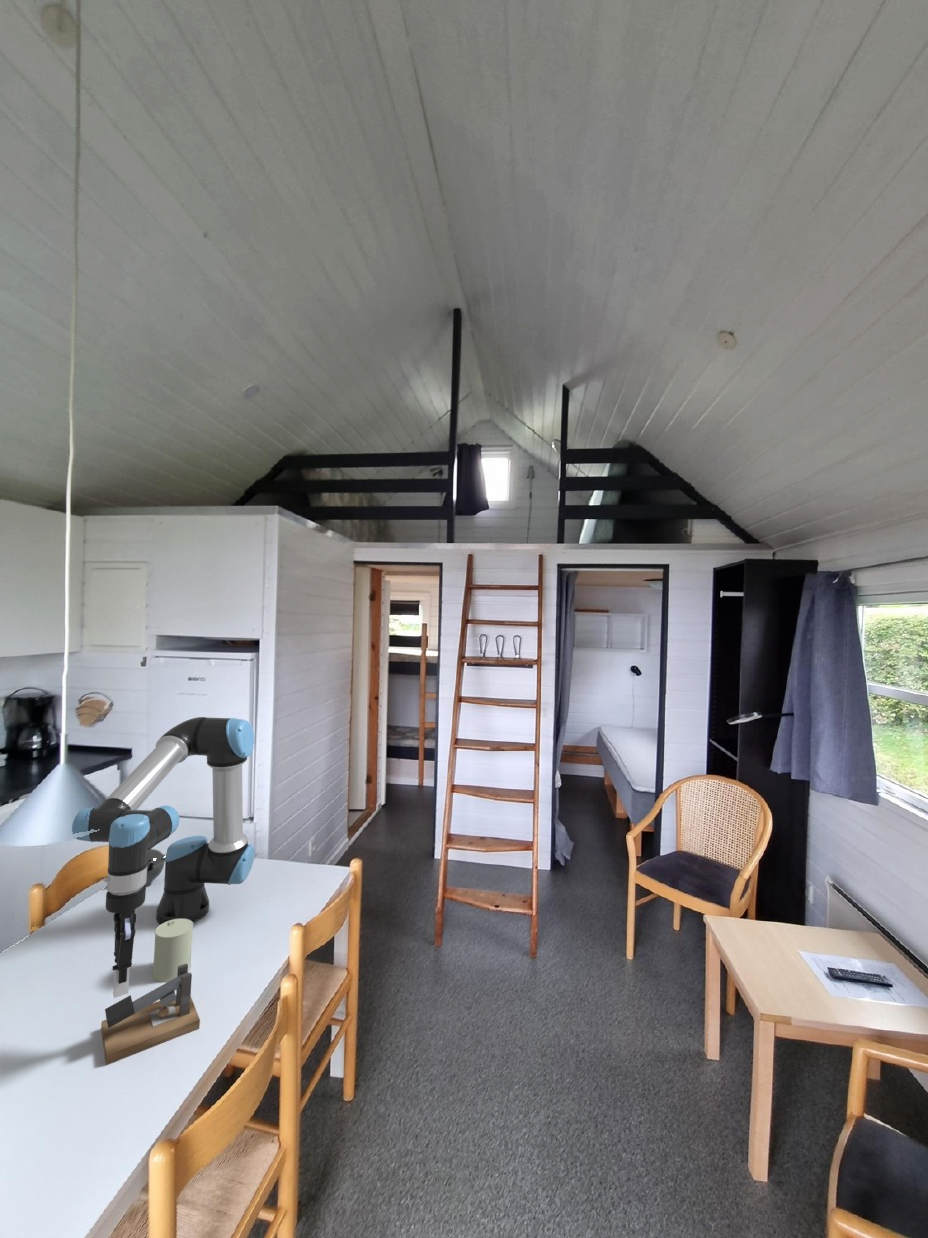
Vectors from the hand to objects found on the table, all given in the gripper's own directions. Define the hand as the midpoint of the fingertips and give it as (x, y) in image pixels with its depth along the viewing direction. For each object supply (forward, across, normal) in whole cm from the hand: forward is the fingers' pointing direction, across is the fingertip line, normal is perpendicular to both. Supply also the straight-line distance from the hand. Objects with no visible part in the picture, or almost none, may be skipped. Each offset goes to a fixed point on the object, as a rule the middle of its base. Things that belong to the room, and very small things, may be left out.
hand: (120, 993), depth 118 cm
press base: (+10, 0, +6) cm, 12 cm away
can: (+11, -20, +14) cm, 27 cm away
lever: (+6, 0, +7) cm, 9 cm away
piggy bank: (+11, -79, +15) cm, 81 cm away
